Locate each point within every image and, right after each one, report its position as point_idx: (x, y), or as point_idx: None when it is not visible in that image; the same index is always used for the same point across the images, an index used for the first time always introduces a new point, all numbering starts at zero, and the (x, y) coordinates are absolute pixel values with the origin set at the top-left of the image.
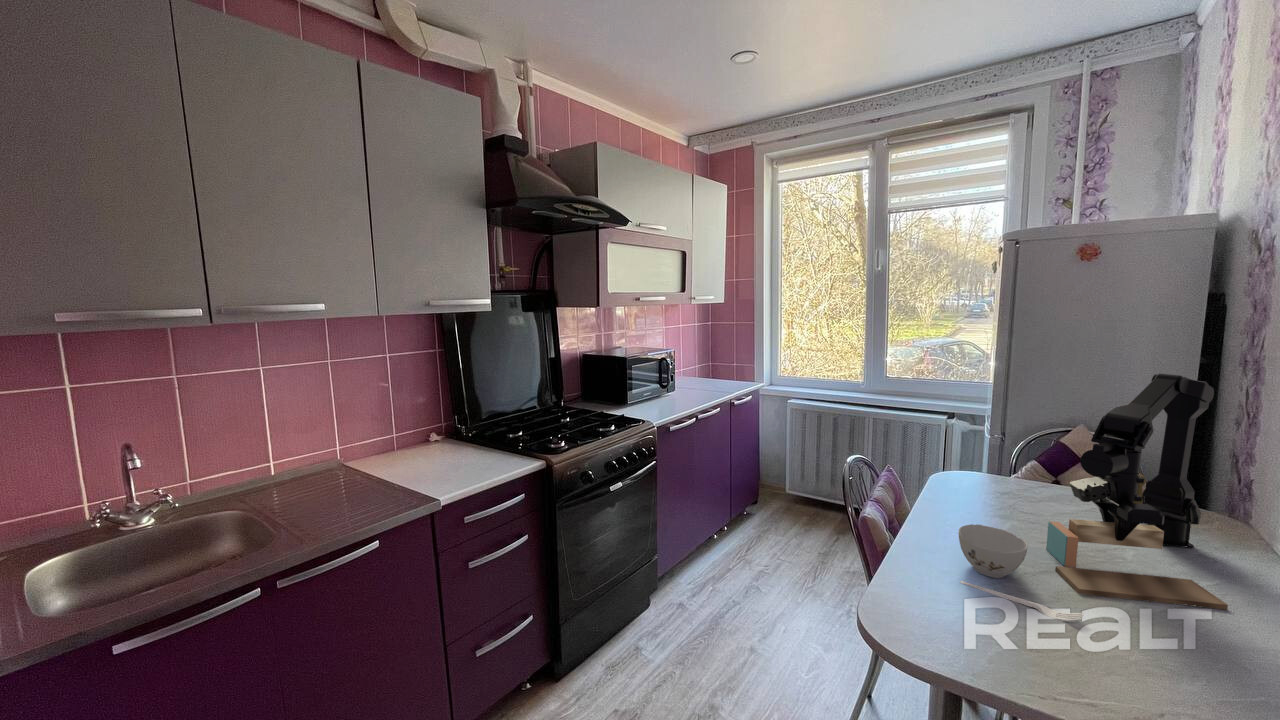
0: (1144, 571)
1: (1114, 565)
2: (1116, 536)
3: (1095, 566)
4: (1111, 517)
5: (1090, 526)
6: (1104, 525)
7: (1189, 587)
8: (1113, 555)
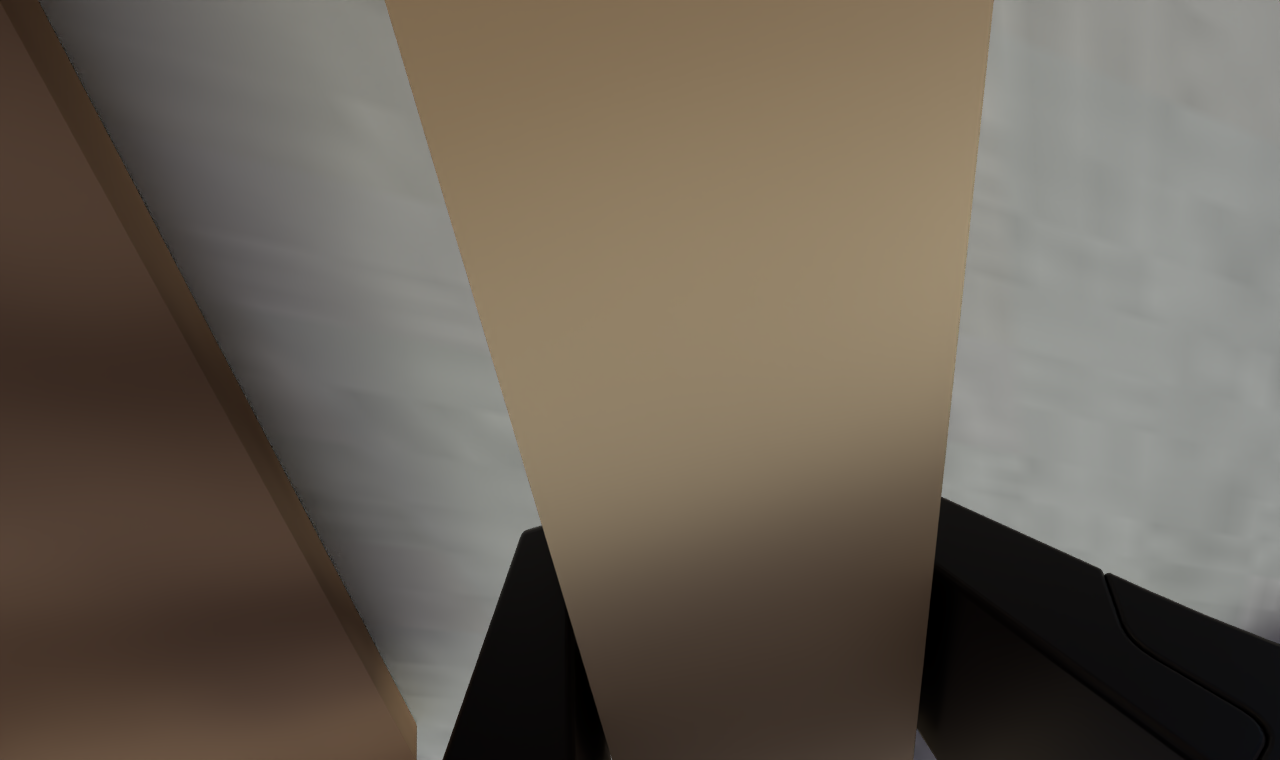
0: (510, 520)
1: None
2: (522, 576)
3: (384, 107)
4: (1022, 758)
5: (428, 127)
6: (653, 543)
7: (221, 750)
8: None
